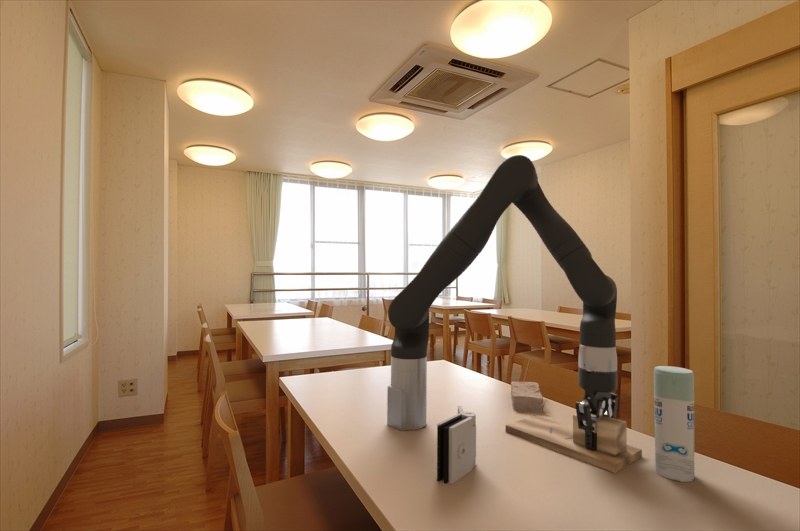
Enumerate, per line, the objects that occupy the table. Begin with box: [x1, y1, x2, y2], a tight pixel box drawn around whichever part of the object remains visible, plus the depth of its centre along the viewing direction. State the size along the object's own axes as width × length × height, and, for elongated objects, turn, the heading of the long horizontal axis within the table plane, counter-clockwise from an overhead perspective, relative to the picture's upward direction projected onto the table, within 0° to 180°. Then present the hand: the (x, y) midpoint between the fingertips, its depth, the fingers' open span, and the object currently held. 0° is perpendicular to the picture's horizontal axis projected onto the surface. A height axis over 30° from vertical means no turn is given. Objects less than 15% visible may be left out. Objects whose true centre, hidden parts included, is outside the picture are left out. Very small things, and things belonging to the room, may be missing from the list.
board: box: [505, 415, 643, 474], centre depth 92 cm, size 12×26×2 cm, turn 37°
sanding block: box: [572, 413, 628, 457], centre depth 87 cm, size 5×9×6 cm, turn 37°
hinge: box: [436, 405, 477, 485], centre depth 80 cm, size 14×5×10 cm, turn 153°
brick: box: [510, 381, 544, 413], centre depth 122 cm, size 17×8×5 cm, turn 166°
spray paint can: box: [653, 365, 695, 483], centre depth 78 cm, size 6×6×20 cm
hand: (597, 445), depth 87 cm, fingers closed on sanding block, 5 cm apart
